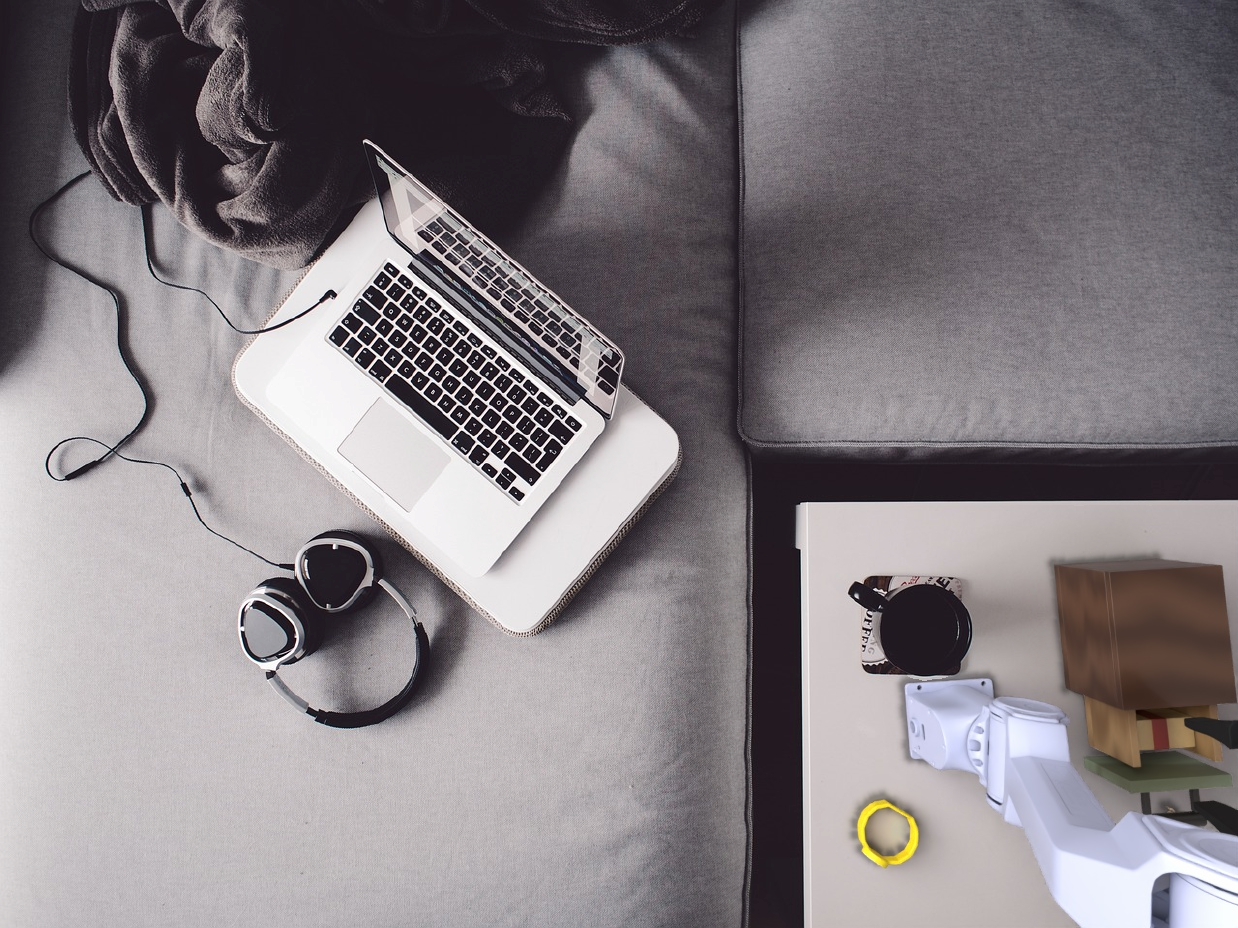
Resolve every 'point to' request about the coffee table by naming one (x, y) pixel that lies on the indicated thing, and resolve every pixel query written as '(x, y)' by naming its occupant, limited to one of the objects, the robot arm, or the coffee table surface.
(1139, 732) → the tan red striped block
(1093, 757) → the pullout
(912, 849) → the yellow rubber band ring
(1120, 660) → the cabinet
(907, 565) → the coffee table surface
